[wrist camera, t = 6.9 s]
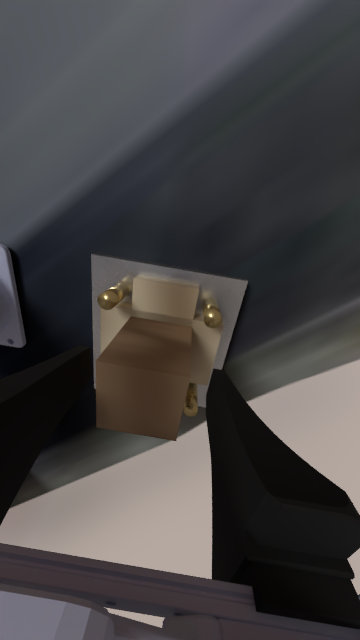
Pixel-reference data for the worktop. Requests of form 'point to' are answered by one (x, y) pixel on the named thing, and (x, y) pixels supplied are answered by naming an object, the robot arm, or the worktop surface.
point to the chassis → (214, 289)
